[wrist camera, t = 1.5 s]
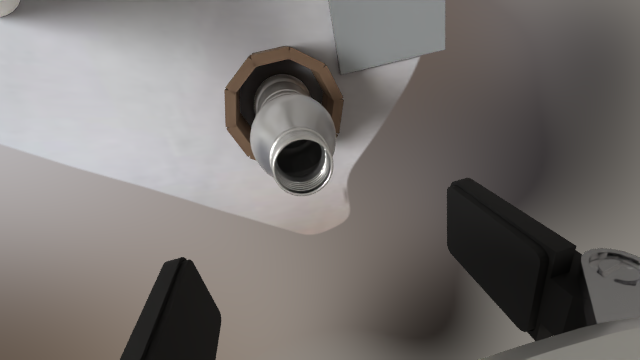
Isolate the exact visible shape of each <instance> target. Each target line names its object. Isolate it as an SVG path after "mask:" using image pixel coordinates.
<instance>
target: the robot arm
mask: <svg viewBox="0 0 640 360" xmlns="http://www.w3.org/2000/svg"><path fill="white" fill-rule="evenodd" d="M447 246H448V249H449V251H450V253H451V254H452V255H453V256H454V257H455V259H456V260H457V261H458V262H459V263H460V264H461V265H462V266H463V267H464V268H465V270H466V271H467V272H468V273H469V274H470V275H471V276H472V277H473V279H474V280H475V281H476V282H477V283H478V284H479V285H480V286H481V287H482V288H483V289H484V291H485V292H486V293H487V294H488V295H489V296H490V297H491V298H492V300H493V301H494V302H495V303H496V304H497V305H498V306H499V307H500V308H501V309H502V311H503V312H504V313H505V314H506V315H507V316H508V317H509V318H510V319H511V321H512V322H513V323H514V324H515V325H516V326H517V327H518V328H519V329H520V330H521V331H524V332H526V331H527V332H528V333H529V334H530V336H531V337H532V338H533V339H534V340H535V342H532V343H529V344H525V345H522V346H519V347H516V348H513V349H510V350H507V351H504V352H500V353H497V354H495V355H491V356H488V357H485V358H482V359H479V360H640V257H638V256H636V255H633V254H630V253H627V252H624V251H620V250H615V249H607V248H598V249H591V250H589V251H586V252H584V254H583V255H582V254H580V253H579V252H577V251H576V250H575V249H576V245H574V244H572V243H571V242H569V241H568V240H566V239H565V238H563V237H561V236H560V235H558V234H557V233H555V232H553V231H552V230H550V229H549V228H547V227H545V226H544V225H543V224H541V223H540V222H538V221H536V220H535V219H533V218H531V217H530V216H528V215H527V214H525V213H524V212H522V211H521V210H519V209H518V208H516V207H514V206H513V205H511V204H510V203H508V202H507V201H505V200H503V199H502V198H500V197H499V196H497V195H496V194H494V193H493V192H491V191H489V190H488V189H486V188H485V187H483V186H482V185H480V184H478V183H477V182H475V181H474V180H472V179H470V178H465V179H461V180H458V181H454V182H452V184H451V186H450V187H448V189H447ZM220 326H221V314H220V311H219V309H218V308H217V306H216V304H215V302H214V300H213V299H212V296H211V295H210V293H209V291H208V289H207V287H206V285H205V284H204V282H203V280H202V278H201V276H200V274H199V272H198V271H197V269H196V267H195V265H194V263H193V262H192V261H191V260H186V259H185V258H184V257H181V258H178V259H174V260H171V261H167V262H165V263H164V265H163V267H162V269H161V271H160V273H159V276H158V278H157V280H156V282H155V284H154V286H153V288H152V291H151V293H150V295H149V297H148V299H147V301H146V304H145V306H144V308H143V310H142V313H141V315H140V317H139V319H138V321H137V324H136V326H135V328H134V330H133V332H132V334H131V336H130V339H129V341H128V343H127V345H126V348H125V349H124V352H123V354H122V356H121V358H120V360H215V359H216V352H217V346H218V339H219V333H220ZM551 336H552V337H551ZM548 337H549V338H548Z"/></svg>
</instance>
